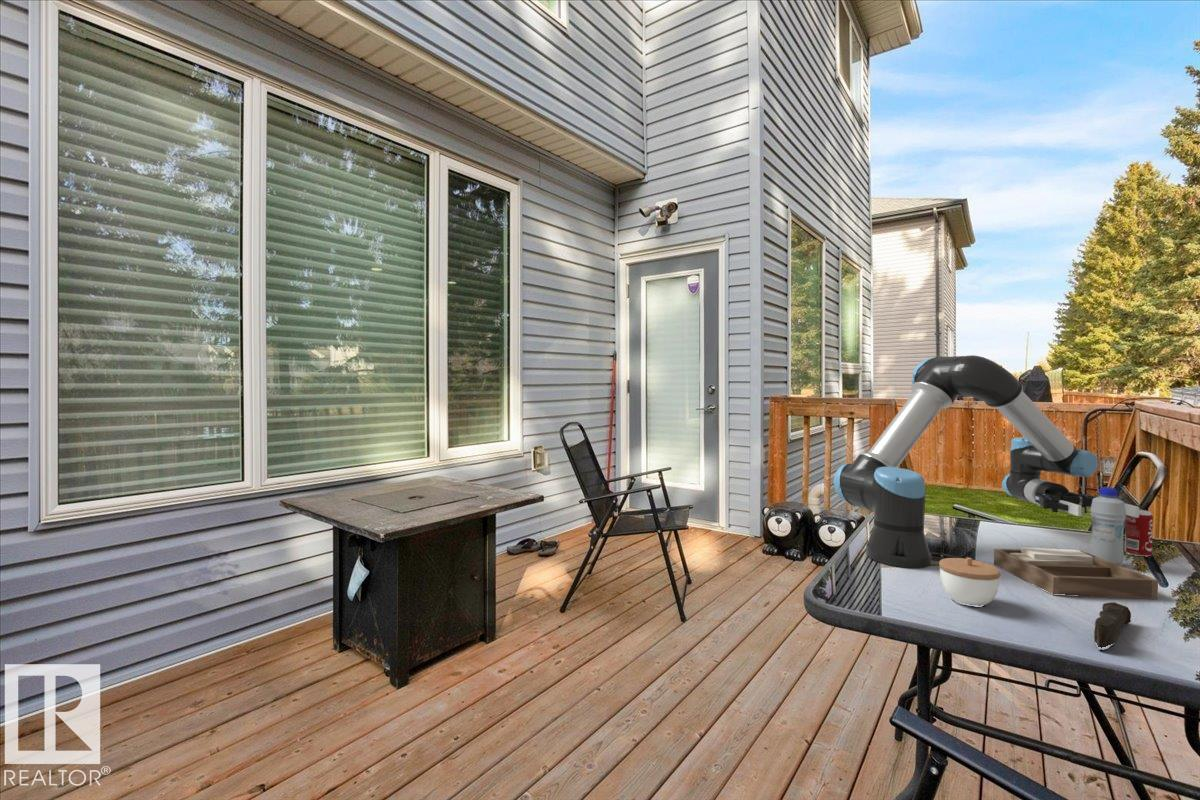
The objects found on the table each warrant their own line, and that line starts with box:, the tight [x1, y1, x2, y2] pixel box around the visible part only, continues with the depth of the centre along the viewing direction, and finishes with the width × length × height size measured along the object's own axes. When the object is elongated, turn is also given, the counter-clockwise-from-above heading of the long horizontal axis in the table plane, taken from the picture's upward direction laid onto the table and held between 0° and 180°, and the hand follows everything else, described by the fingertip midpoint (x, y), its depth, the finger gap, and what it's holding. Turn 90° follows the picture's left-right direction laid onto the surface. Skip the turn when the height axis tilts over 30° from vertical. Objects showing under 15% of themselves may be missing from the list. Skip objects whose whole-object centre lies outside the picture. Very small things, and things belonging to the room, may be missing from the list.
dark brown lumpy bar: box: [1093, 601, 1132, 648], centre depth 100 cm, size 19×4×5 cm, turn 127°
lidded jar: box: [938, 557, 1001, 606], centre depth 115 cm, size 11×11×9 cm
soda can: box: [1124, 509, 1154, 557], centre depth 146 cm, size 5×5×12 cm
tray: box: [993, 548, 1159, 599], centre depth 127 cm, size 20×21×4 cm
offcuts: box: [1010, 546, 1095, 566], centre depth 132 cm, size 7×17×4 cm, turn 85°
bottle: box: [1089, 486, 1126, 566], centre depth 138 cm, size 7×7×20 cm
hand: (1108, 511), depth 138 cm, fingers open, 13 cm apart
